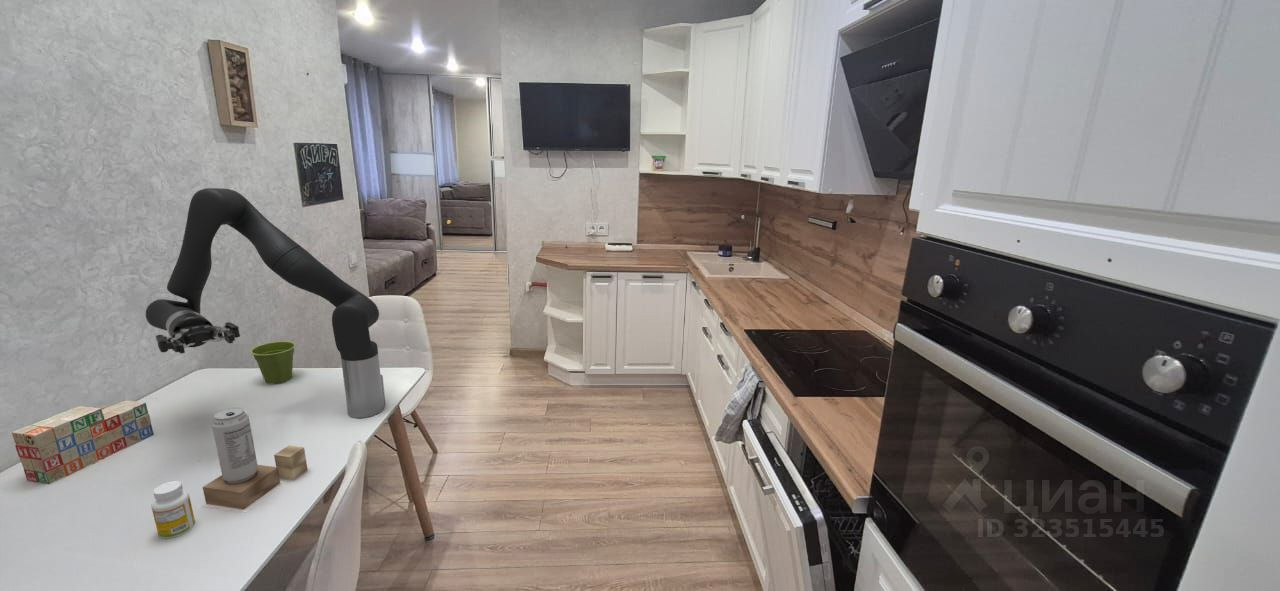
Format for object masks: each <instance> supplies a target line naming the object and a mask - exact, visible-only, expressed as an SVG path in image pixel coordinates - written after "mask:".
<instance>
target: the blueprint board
mask: <svg viewBox="0 0 1280 591" xmlns="http://www.w3.org/2000/svg"><path fill="white" fill-rule="evenodd" d="M286 483H287V481H284V480H280V484H278V485H277V486H276V487H274V488H273V489H272V490H270V491H269V492H267V493H266V494H265V495H263V496H262V497H260V498H259V499H258V500H256V501H255V502H254V503H252V504H251V505H249V506H248V507H247V508H245V509H237V508H231V507H224V506H218V505H211V504H206V503H205V504H203V505H202V507H207V508H212V509H213V508H214V509H219V510H224V511H225V510H226V511H233V512H238V513H239V512H240V513H247V512H248V511H250V510H251V509H252V508H253V507H256V505H258V504H259V503H260V502H262V501H263V500H265V499H266V498H267V497H269V496H270V495H271V494H272V493H274V492H276V490H278V489H279V488H281V487H282V486H284V485H285V484H286Z"/></svg>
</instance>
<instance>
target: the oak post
mask: <svg viewBox="0 0 1280 591" xmlns="http://www.w3.org/2000/svg"><path fill="white" fill-rule="evenodd" d="M305 452H306V450H305V447H303V446H297V445H290V444H288V445H287V446H285V447H283V448H282V449H281V450H279V451H278V452H276V453H275V454H274V455H273V456H274V463H275V467H278V473H279V478H280V480H281V479H282V480H289V481H295V480H296V479H298V478H299V477H300V476H302V475H303V474H304V473H306V472H307V471H308V465H307V459H306V458H307V457H306V453H305Z"/></svg>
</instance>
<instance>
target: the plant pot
mask: <svg viewBox="0 0 1280 591" xmlns="http://www.w3.org/2000/svg"><path fill="white" fill-rule="evenodd" d="M296 346H297V344H296V342H293V341H288V340H287V341H285V340H283V341H282V340H279V341H271V342H266V343H263V344H259V345H256V346H254V347H253V348H252V349H250V351H249V352H250V354H251V355H252V356H253V358H254V360H255V361H256V362H257V365H258V367H259V371H260V373H261V375H262V378H263V380H264V382H265V383H266V384H267V383H268V384H269V385H279V384H284V383H286V382H287V381H288V380H289V381H290V380H291V379H292V378H293V365H294V353H295V348H296ZM283 382H284V383H283ZM278 383H279V384H278Z"/></svg>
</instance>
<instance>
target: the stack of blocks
mask: <svg viewBox="0 0 1280 591" xmlns="http://www.w3.org/2000/svg"><path fill="white" fill-rule="evenodd" d="M104 408H105V409H101V407H92V406H91V407H90V406H84V405H79V406H76V407H73V408H71V409H68V410H65V411H63V412H60V413H57V414H56V415H53V416H50V417H49V418H45V419H43V420H40V421H38V422H35V423H32V424H30V425H27V426H24V427H21V428H18V429H17V430H16V429H15V430H13V431H12V432H11V436H12V437H13V440H14V443H15V445H14V447H15V449H16V452H17V456H18V457H19V460H20V463H21V465H22V468H23V473H24V475H25V478H26V481H27V482H33V483H40V482H41V483H42V484H47V485H51V484H53V483H55V482H58V481H60V480H61V479H64V478H66V477H67V476H71V475H72V474H75V473H77V472H79V471H81V470H83V469H85V468H88V467H90V466H92V465H94V464H96V463H98V462H99V460H100V461H101V459H102V460H103V459H105V458H107V457H109V456H112V455H114V454H115V453H118V452H121V451H123V450H124V449H127V448H129V447H131V446H133V445H134V444H135V445H136V443H139V442H141V441H143V440H145V439H147V438H150V437H151V436H154V430H153V426H152V421H151V416H150V413H149V409H148V406H147V402H144V401H143V402H142V401H137V400H136V401H135V400H134V401H133V400H123V401H120V402H118V403H116V404H113V405H110V406H107V408H106V407H104ZM113 453H114V454H113ZM93 463H94V464H93ZM91 464H92V465H91ZM89 465H90V466H89ZM87 466H88V467H87ZM70 474H71V475H70ZM41 483H40V484H41Z"/></svg>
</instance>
